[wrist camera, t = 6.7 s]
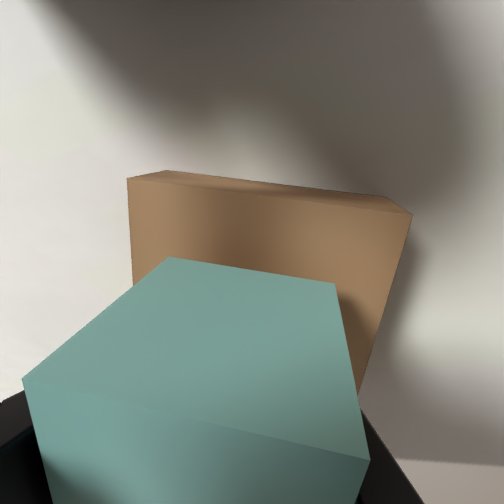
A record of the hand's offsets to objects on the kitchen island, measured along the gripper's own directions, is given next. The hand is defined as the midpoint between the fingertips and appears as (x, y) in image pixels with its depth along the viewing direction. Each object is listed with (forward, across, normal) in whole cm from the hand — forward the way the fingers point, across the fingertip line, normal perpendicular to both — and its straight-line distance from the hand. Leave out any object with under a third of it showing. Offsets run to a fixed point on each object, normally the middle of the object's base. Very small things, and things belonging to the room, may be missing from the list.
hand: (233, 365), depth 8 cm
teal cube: (+1, 0, 0) cm, 1 cm away
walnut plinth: (+6, 0, 0) cm, 6 cm away
